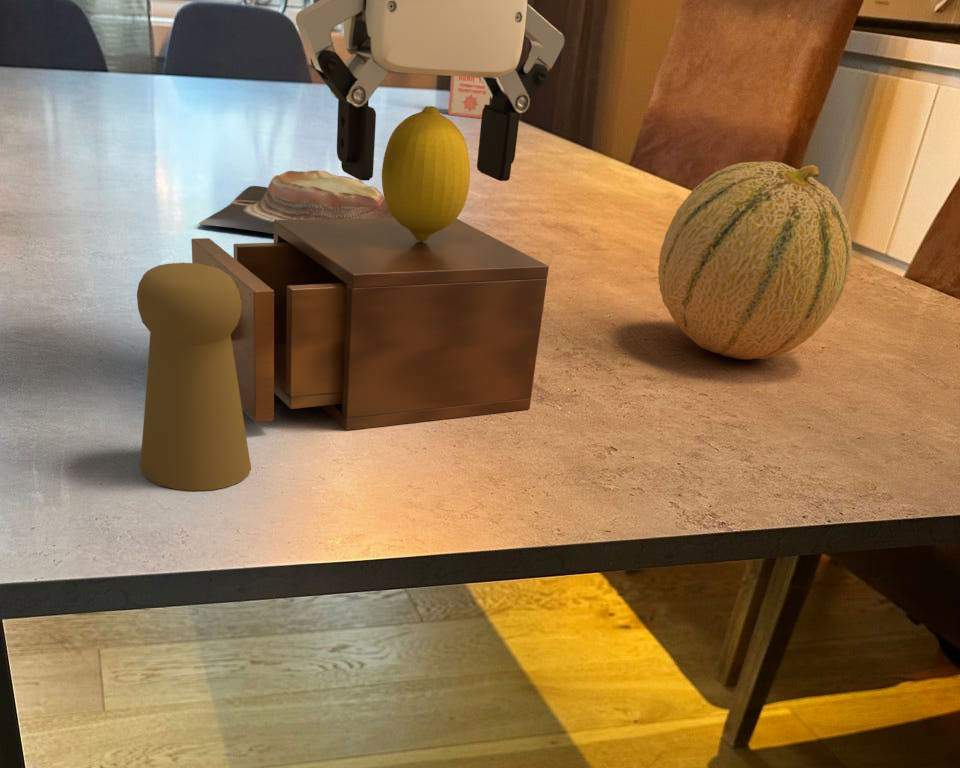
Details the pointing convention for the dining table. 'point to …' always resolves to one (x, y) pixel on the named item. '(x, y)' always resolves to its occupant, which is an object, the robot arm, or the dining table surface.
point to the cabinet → (428, 319)
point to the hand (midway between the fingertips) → (426, 176)
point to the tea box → (467, 97)
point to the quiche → (301, 201)
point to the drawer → (283, 325)
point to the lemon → (426, 173)
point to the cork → (192, 379)
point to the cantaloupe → (755, 259)
